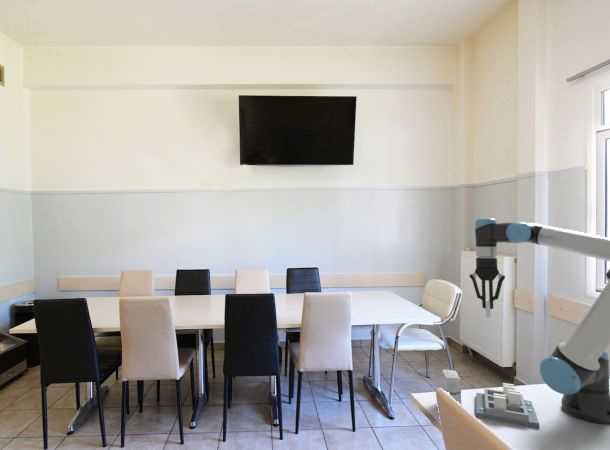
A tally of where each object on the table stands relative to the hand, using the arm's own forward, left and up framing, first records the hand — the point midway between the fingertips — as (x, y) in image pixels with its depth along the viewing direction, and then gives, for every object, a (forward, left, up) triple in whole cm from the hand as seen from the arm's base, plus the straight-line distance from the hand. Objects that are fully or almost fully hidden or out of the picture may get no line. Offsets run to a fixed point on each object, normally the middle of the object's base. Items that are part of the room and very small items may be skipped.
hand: (488, 316), depth 142 cm
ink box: (+13, +19, -30) cm, 38 cm away
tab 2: (-6, +9, -28) cm, 30 cm away
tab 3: (-7, +15, -28) cm, 32 cm away
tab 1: (-2, +20, -28) cm, 35 cm away
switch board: (-4, +15, -29) cm, 33 cm away
